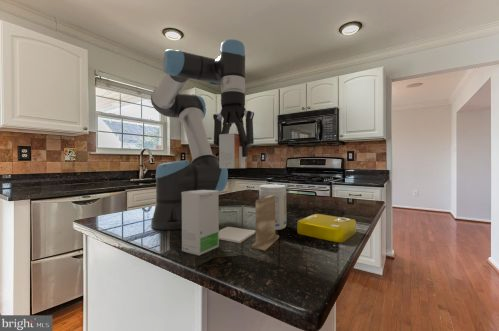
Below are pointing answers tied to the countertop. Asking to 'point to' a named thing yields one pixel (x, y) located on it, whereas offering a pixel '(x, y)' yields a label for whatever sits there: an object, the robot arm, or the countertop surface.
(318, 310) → the countertop surface
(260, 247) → the oak screen
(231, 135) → the small box
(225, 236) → the cream pad
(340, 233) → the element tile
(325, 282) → the countertop surface
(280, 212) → the supplement tub
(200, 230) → the skincare box
